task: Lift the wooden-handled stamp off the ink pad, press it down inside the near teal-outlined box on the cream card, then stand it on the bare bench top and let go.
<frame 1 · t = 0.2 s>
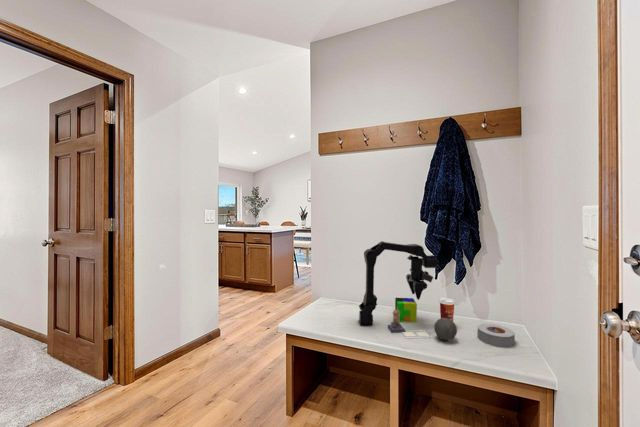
hand: (415, 296, 167), 14 cm above the bench, fingers open, 9 cm apart
decorative ball: (445, 339, 148), on the bench
print card: (415, 334, 153), on the bench
puzzle toy: (405, 318, 174), on the bench
tape roll: (495, 340, 147), on the bench
paper cup: (446, 326, 163), on the bench
stamp: (396, 326, 158), point 2 cm above the bench, touching ink pad
ink pad: (396, 329, 159), on the bench
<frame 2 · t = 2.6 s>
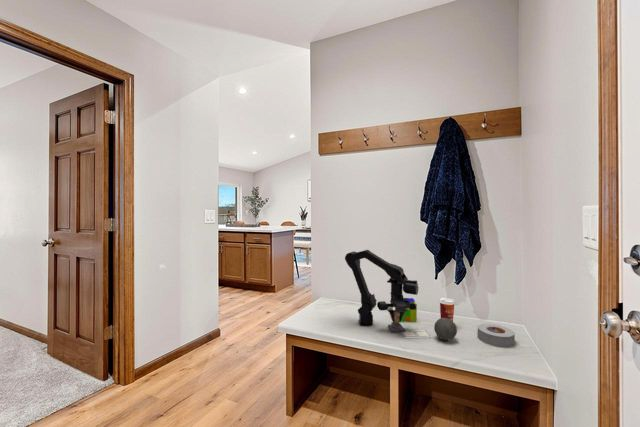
hand: (396, 322, 158), 4 cm above the bench, fingers closed on stamp, 3 cm apart
stamp: (396, 326, 158), point 2 cm above the bench, touching gripper, ink pad
everything else where it was.
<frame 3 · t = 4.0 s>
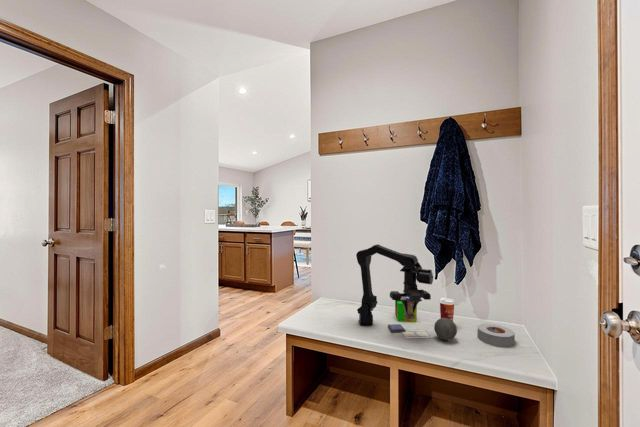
hand: (409, 312, 152), 11 cm above the bench, fingers closed on stamp, 3 cm apart
stamp: (409, 317, 153), point 9 cm above the bench, touching gripper
everything else where it was.
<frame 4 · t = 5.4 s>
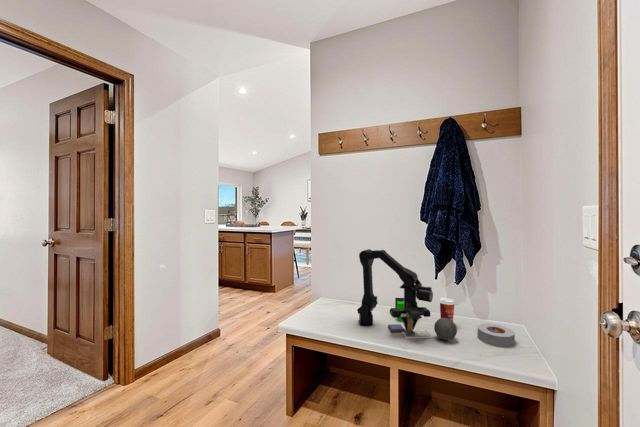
hand: (409, 329, 153), 3 cm above the bench, fingers closed on stamp, 3 cm apart
stamp: (409, 334, 153), resting on print card, touching gripper
everything else where it was.
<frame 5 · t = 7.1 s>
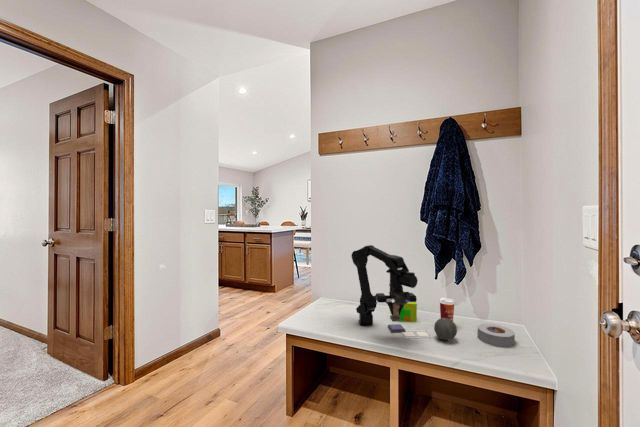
hand: (395, 315, 150), 11 cm above the bench, fingers closed on stamp, 3 cm apart
stamp: (395, 319, 150), point 8 cm above the bench, touching gripper
everything else where it was.
when the fingers open (3 cm above the bench, at t = 8.3 s): stamp stays where it is, on the bench.
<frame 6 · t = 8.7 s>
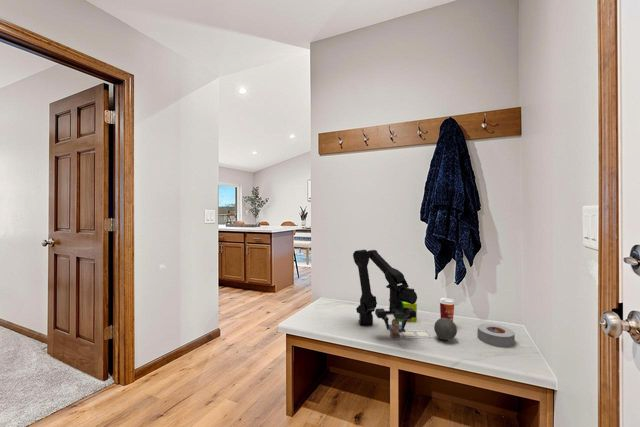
hand: (395, 330, 150), 3 cm above the bench, fingers open, 7 cm apart
stamp: (395, 336, 150), on the bench
everything else where it was.
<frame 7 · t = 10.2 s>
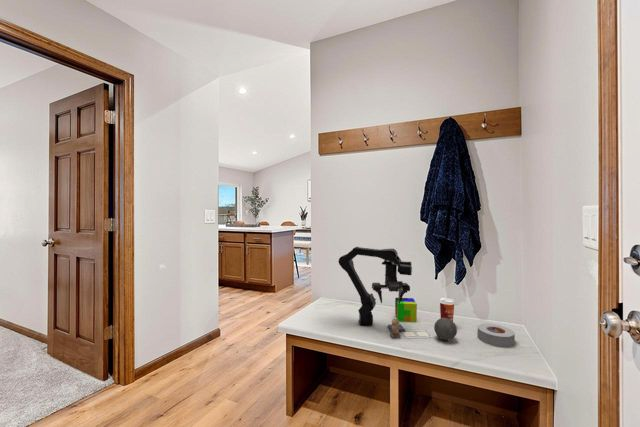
hand: (390, 303, 161), 13 cm above the bench, fingers open, 9 cm apart
nothing on the bench moved.
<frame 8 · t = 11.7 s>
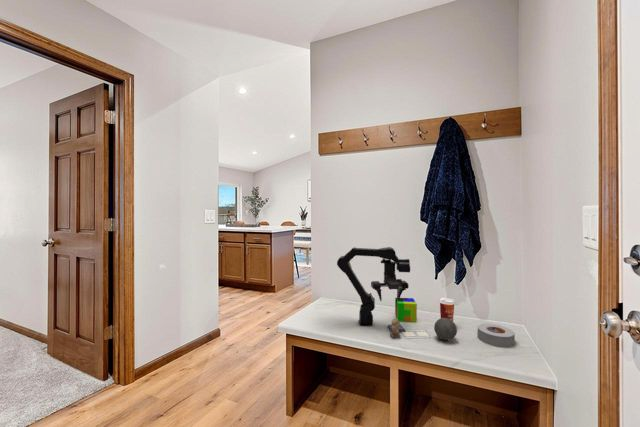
hand: (389, 300, 164), 13 cm above the bench, fingers open, 9 cm apart
nothing on the bench moved.
at the end: stamp 0.0 cm from the target spot, on the bench; stamp tilted 0°; the gripper is holding nothing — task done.
